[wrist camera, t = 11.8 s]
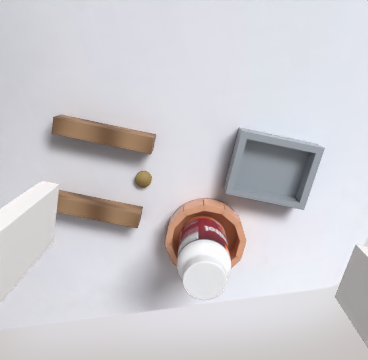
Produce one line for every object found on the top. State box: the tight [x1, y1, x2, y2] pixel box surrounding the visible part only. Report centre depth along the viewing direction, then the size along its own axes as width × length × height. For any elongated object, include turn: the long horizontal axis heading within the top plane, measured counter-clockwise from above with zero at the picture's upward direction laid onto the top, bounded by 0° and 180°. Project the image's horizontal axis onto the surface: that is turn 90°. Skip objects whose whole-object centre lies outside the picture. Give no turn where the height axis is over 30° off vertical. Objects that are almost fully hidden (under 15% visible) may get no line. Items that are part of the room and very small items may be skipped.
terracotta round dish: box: [165, 198, 246, 268], centre depth 45 cm, size 10×10×3 cm
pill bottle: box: [177, 216, 231, 300], centre depth 40 cm, size 6×6×11 cm
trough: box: [224, 128, 325, 210], centre depth 42 cm, size 10×8×3 cm
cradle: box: [52, 115, 156, 228], centre depth 43 cm, size 12×12×2 cm
